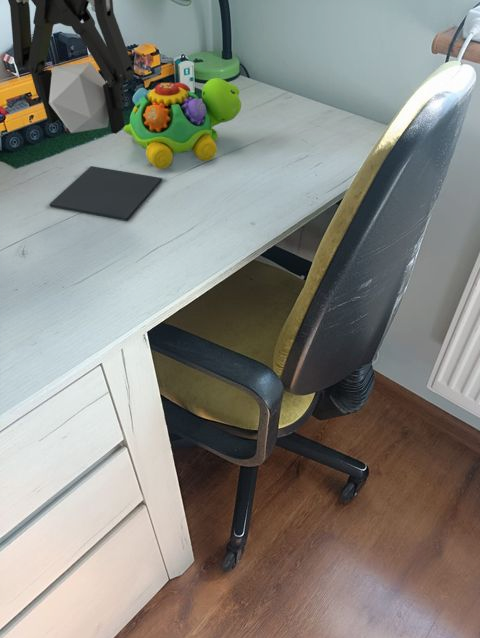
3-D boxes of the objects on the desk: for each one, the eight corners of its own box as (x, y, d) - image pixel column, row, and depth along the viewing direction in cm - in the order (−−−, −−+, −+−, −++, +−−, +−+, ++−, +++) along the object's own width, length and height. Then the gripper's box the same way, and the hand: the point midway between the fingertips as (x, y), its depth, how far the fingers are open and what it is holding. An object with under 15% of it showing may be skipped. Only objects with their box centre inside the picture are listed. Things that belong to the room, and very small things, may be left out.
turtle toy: (257, 154, 100) (258, 90, 92) (140, 176, 93) (130, 109, 84) (223, 121, 111) (222, 61, 102) (117, 138, 103) (105, 75, 95)
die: (112, 115, 81) (61, 57, 75) (137, 100, 74) (83, 36, 68) (78, 152, 78) (23, 95, 73) (101, 141, 72) (41, 77, 66)
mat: (50, 206, 85) (49, 203, 85) (91, 168, 94) (91, 165, 94) (127, 221, 83) (126, 218, 82) (162, 180, 92) (162, 177, 92)
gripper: (-59, -72, 59) (5, 123, 76) (116, -56, 56) (144, 146, 72) (-18, -80, 64) (34, 105, 81) (146, -66, 61) (166, 125, 77)
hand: (86, 124), depth 76 cm, fingers closed on die, 10 cm apart
